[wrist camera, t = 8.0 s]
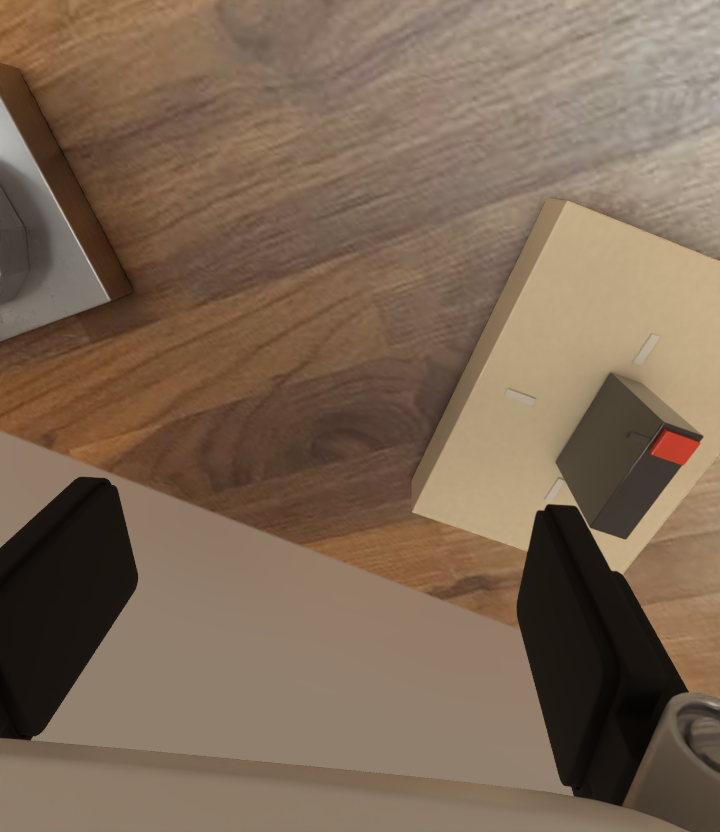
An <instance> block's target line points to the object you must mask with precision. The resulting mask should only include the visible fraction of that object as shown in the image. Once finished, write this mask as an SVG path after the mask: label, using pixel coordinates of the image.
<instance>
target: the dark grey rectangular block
mask: <svg viewBox="0 0 720 832" xmlns="http://www.w3.org/2000/svg"><path fill="white" fill-rule="evenodd" d="M703 437H704V436H703V435H702V434H701V433H699V432H698V431H697V430H696V429H695V428H694V427H692V426H691V425H690V424H689V423H688V422H687V421H685V420H684V419H683V418H682V417H681V416H680V415H679V414H677V413H676V412H675V411H674V410H673V409H672V408H670V407H669V406H668V405H667V404H666V403H665V402H663V401H662V400H661V399H660V398H659V397H658V396H656V395H655V394H654V393H653V392H652V391H651V390H649V389H648V388H647V387H646V386H645V385H644V384H642V383H640V382H637V381H634V380H631V379H629V378H626V377H623V376H620V375H617V374H615V373H612V372H610V374H609V375H608V377H607V378H606V380H605V382H604V383H603V385H602V387H601V388H600V390H599V392H598V393H597V395H596V396H595V398H594V400H593V401H592V403H591V405H590V406H589V408H588V410H587V411H586V413H585V414H584V416H583V418H582V419H581V421H580V423H579V424H578V426H577V428H576V429H575V431H574V432H573V434H572V436H571V437H570V439H569V441H568V442H567V444H566V446H565V447H564V449H563V450H562V452H561V454H560V455H559V457H558V459H557V460H556V462H555V463H556V465H557V467H558V469H559V471H560V473H561V474H562V476H563V478H564V480H565V482H566V484H567V486H568V488H569V490H570V491H571V493H572V495H573V497H574V499H575V501H576V503H577V505H578V507H579V508H580V510H581V512H582V514H583V516H584V518H585V520H586V522H587V524H588V525H589V527H590V528H591V529H594V530H597V531H600V532H603V533H606V534H609V535H612V536H615V537H618V538H621V539H624V540H626V539H627V538H628V537H629V535H630V534H631V533H632V531H633V530H634V529H635V527H636V526H637V525H638V523H639V522H640V521H641V520H642V518H643V517H644V516H645V514H646V513H647V512H648V510H649V509H650V508H651V506H652V505H653V504H654V502H655V501H656V500H657V498H658V497H659V496H660V494H661V493H662V492H663V490H664V489H665V488H666V486H667V485H668V484H669V482H670V481H671V480H672V478H673V477H674V476H675V474H676V473H677V472H678V471H679V469H680V468H681V467H682V465H683V466H684V465H685V464H686V462H687V461H688V460H689V458H690V457H691V456H692V454H693V453H694V452H695V450H696V449H697V448H698V447H699V445H700V444H701V443H700V441H701V440H702V439H703Z"/></svg>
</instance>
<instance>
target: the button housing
mask: <svg viewBox="0 0 720 832" xmlns="http://www.w3.org/2000/svg"><path fill="white" fill-rule="evenodd" d="M132 292H133V289H132V287H131V285H130V283H129V281H128V279H127V277H126V275H125V273H124V271H123V270H122V268H121V266H120V264H119V262H118V260H117V258H116V256H115V254H114V252H113V250H112V248H111V246H110V244H109V243H108V241H107V239H106V237H105V235H104V233H103V231H102V229H101V227H100V225H99V223H98V221H97V219H96V217H95V216H94V214H93V212H92V210H91V208H90V206H89V204H88V202H87V200H86V198H85V196H84V194H83V192H82V191H81V189H80V187H79V185H78V183H77V181H76V179H75V177H74V175H73V173H72V171H71V169H70V167H69V165H68V164H67V162H66V160H65V158H64V156H63V154H62V152H61V150H60V148H59V146H58V144H57V142H56V140H55V138H54V137H53V135H52V133H51V131H50V129H49V127H48V125H47V123H46V121H45V119H44V117H43V115H42V113H41V111H40V110H39V108H38V106H37V104H36V102H35V100H34V98H33V96H32V94H31V92H30V90H29V88H28V86H27V85H26V83H25V81H24V79H23V77H22V75H21V73H20V71H19V69H18V68H15V67H12V66H8V65H5V64H1V63H0V342H1V341H3V340H6V339H9V338H12V337H14V336H17V335H20V334H23V333H25V332H28V331H31V330H34V329H36V328H39V327H42V326H45V325H47V324H50V323H53V322H56V321H58V320H61V319H64V318H67V317H69V316H72V315H75V314H78V313H80V312H83V311H86V310H89V309H91V308H94V307H97V306H100V305H102V304H105V303H108V302H111V301H113V300H116V299H118V298H120V297H123V296H125V295H128V294H130V293H132Z"/></svg>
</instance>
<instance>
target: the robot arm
mask: <svg viewBox="0 0 720 832" xmlns="http://www.w3.org/2000/svg"><path fill="white" fill-rule="evenodd" d="M137 583H138V572H137V568H136V565H135V560H134V556H133V552H132V548H131V543H130V539H129V535H128V531H127V527H126V522H125V518H124V514H123V510H122V506H121V502H120V498H119V493H118V490H117V488H116V486H114V485H111V483H110V481H109V480H108V479H105V478H93V477H79V478H77V479H75V480H74V481H73V482H72V483H71V484H70V485H69V486H68V487H66V488H65V489H64V490H63V491H62V492H61V493H60V494H59V495H58V496H57V497H55V499H53V500H52V501H51V502H50V503H49V504H48V505H47V506H46V507H45V508H43V509H42V510H41V511H40V512H39V513H38V514H37V515H36V516H35V517H34V518H33V519H32V520H30V521H29V522H28V523H27V524H26V525H25V526H24V527H23V528H22V529H21V530H19V531H18V532H17V533H16V534H15V535H14V536H13V537H12V538H11V539H10V540H8V541H7V542H6V543H5V544H4V545H3V546H2V547H1V548H0V832H720V699H718V698H716V697H713V696H709V695H705V694H701V693H689V691H688V690H687V688H686V686H685V684H684V683H683V681H682V679H681V677H680V675H679V674H678V672H677V670H676V668H675V666H674V665H673V663H672V661H671V659H670V658H669V656H668V654H667V652H666V650H665V649H664V647H663V645H662V643H661V641H660V640H659V638H658V636H657V634H656V633H655V631H654V629H653V627H652V625H651V624H650V622H649V620H648V618H647V616H646V615H645V613H644V611H643V609H642V608H641V606H640V604H639V602H638V600H637V599H636V597H635V595H634V593H633V591H632V590H631V588H630V586H629V584H628V583H627V581H626V579H625V578H624V577H623V575H622V574H621V573H619V572H618V571H611V569H610V567H609V565H608V563H607V561H606V559H605V558H604V556H603V554H602V552H601V550H600V548H599V546H598V545H597V543H596V541H595V539H594V537H593V535H592V533H591V531H590V530H589V528H588V526H587V524H586V522H585V520H584V518H583V517H582V515H581V513H580V511H579V509H578V508H577V507H576V506H574V505H557V504H548V505H546V507H545V510H544V511H543V510H538V511H537V512H536V515H535V519H534V524H533V529H532V534H531V538H530V543H529V548H528V552H527V557H526V562H525V567H524V571H523V576H522V581H521V585H520V590H519V595H518V600H517V618H518V622H519V626H520V630H521V633H522V637H523V641H524V645H525V648H526V652H527V656H528V660H529V663H530V668H531V671H532V675H533V679H534V683H535V687H536V690H537V694H538V698H539V702H540V705H541V709H542V713H543V717H544V721H545V725H546V728H547V732H548V736H549V740H550V744H551V747H552V751H553V755H554V759H555V763H556V766H557V770H558V774H559V777H560V780H561V782H562V784H563V785H564V786H570V787H572V791H573V795H574V796H568V795H562V794H556V793H550V792H544V791H536V790H527V789H519V788H511V787H502V786H493V785H486V784H477V783H469V782H459V781H451V780H442V779H432V778H422V777H412V776H402V775H392V774H382V773H372V772H362V771H352V770H342V769H332V768H322V767H312V766H302V765H291V764H281V763H270V762H260V761H249V760H239V759H229V758H218V757H206V756H197V755H186V754H175V753H164V752H154V751H143V750H131V749H120V748H109V747H98V746H86V745H74V744H64V743H52V742H42V741H41V742H40V741H30V740H31V739H32V737H33V736H37V735H39V734H40V733H41V732H42V731H43V730H44V729H45V727H46V726H47V725H48V723H49V722H50V720H51V718H52V717H53V715H54V714H55V712H56V711H57V709H58V707H59V706H60V705H61V703H62V702H63V700H64V698H65V697H66V695H67V694H68V692H69V691H70V689H71V688H72V686H73V685H74V683H75V682H76V680H77V679H78V677H79V675H80V674H81V672H82V671H83V669H84V668H85V666H86V665H87V663H88V662H89V660H90V659H91V657H92V656H93V654H94V653H95V651H96V649H97V648H98V646H99V645H100V643H101V642H102V640H103V639H104V637H105V636H106V634H107V633H108V631H109V630H110V628H111V626H112V625H113V623H114V622H115V620H116V619H117V617H118V616H119V614H120V613H121V611H122V609H123V608H124V607H125V605H126V604H127V602H128V600H129V599H130V597H131V596H132V594H133V593H134V591H135V589H136V586H137Z"/></svg>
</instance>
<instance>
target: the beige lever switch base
mask: <svg viewBox="0 0 720 832" xmlns="http://www.w3.org/2000/svg"><path fill="white" fill-rule="evenodd" d="M610 372H612V373H615V374H617V375H620V376H623V377H626V378H629V379H631V380H634V381H637V382H640V383H642V384H644V385H645V386H646V387H647V388H648V389H649V390H651V391H652V392H653V393H654V394H655V395H656V396H658V397H659V398H660V399H661V400H662V401H663V402H665V403H666V404H667V405H668V406H669V407H670V408H672V409H673V410H674V411H675V412H676V413H677V414H679V415H680V416H681V417H682V418H683V419H684V420H685V421H687V422H688V423H689V424H690V425H691V426H692V427H694V428H695V429H696V430H697V431H698V432H699V433H701V434H702V435H703V436H704V437H703V439H702V440H701V441H700V443H701V444H700V445H699V447H698V448H697V449H696V450H695V452H694V453H693V454H692V456H691V457H690V458H689V460H688V461H687V462H686V464H685V465H684V466H683V465H682V467H681V468H680V469H679V471H678V472H677V473H676V474H675V476H674V477H673V478H672V480H671V481H670V482H669V484H668V485H667V486H666V488H665V489H664V490H663V492H662V493H661V494H660V496H659V497H658V498H657V500H656V501H655V502H654V504H653V505H652V506H651V508H650V509H649V510H648V512H647V513H646V514H645V516H644V517H643V518H642V520H641V521H640V522H639V523H638V525H637V526H636V527H635V529H634V530H633V531H632V533H631V534H630V535H629V537H628V538H627V539H626V540H624V539H621V538H618V537H615V536H612V535H609V534H606V533H603V532H600V531H597V530H594V529H591V528H590V527H589V525H588V524H587V522H586V520H585V518H584V516H583V514H582V512H581V510H580V508H579V507H578V505H577V503H576V501H575V499H574V497H573V495H572V493H571V491H570V490H569V488H568V486H567V484H566V482H565V480H564V478H563V476H562V474H561V473H560V471H559V469H558V467H557V465H556V463H555V462H556V460H557V459H558V457H559V455H560V454H561V452H562V450H563V449H564V447H565V446H566V444H567V442H568V441H569V439H570V437H571V436H572V434H573V432H574V431H575V429H576V428H577V426H578V424H579V423H580V421H581V419H582V418H583V416H584V414H585V413H586V411H587V410H588V408H589V406H590V405H591V403H592V401H593V400H594V398H595V396H596V395H597V393H598V392H599V390H600V388H601V387H602V385H603V383H604V382H605V380H606V378H607V377H608V375H609V374H610ZM719 454H720V261H719V260H716V259H714V258H711V257H709V256H706V255H704V254H701V253H699V252H696V251H694V250H691V249H689V248H686V247H684V246H681V245H679V244H676V243H674V242H671V241H669V240H666V239H664V238H661V237H659V236H656V235H654V234H651V233H649V232H646V231H644V230H641V229H639V228H636V227H634V226H631V225H629V224H626V223H624V222H621V221H619V220H616V219H614V218H611V217H609V216H606V215H604V214H601V213H599V212H596V211H594V210H591V209H589V208H586V207H584V206H581V205H579V204H576V203H574V202H571V201H569V200H561V199H553V198H547V199H546V202H545V204H544V206H543V208H542V210H541V212H540V214H539V216H538V218H537V220H536V222H535V224H534V226H533V229H532V231H531V233H530V235H529V237H528V239H527V241H526V243H525V245H524V247H523V249H522V251H521V254H520V256H519V258H518V260H517V262H516V264H515V266H514V268H513V270H512V272H511V274H510V276H509V278H508V281H507V283H506V285H505V287H504V289H503V291H502V293H501V295H500V297H499V299H498V301H497V303H496V306H495V308H494V310H493V312H492V314H491V316H490V318H489V320H488V322H487V324H486V326H485V328H484V331H483V333H482V335H481V337H480V339H479V341H478V343H477V345H476V347H475V349H474V351H473V353H472V355H471V358H470V360H469V362H468V364H467V366H466V368H465V370H464V372H463V374H462V376H461V378H460V380H459V383H458V385H457V387H456V389H455V391H454V393H453V395H452V397H451V399H450V401H449V403H448V405H447V407H446V410H445V412H444V414H443V416H442V418H441V420H440V422H439V424H438V426H437V428H436V430H435V432H434V435H433V437H432V439H431V441H430V443H429V445H428V447H427V449H426V451H425V453H424V455H423V457H422V460H421V462H420V464H419V466H418V468H417V470H416V472H415V474H414V476H413V478H412V480H411V495H412V512H413V513H415V514H418V515H421V516H424V517H427V518H430V519H433V520H436V521H439V522H442V523H445V524H448V525H451V526H454V527H457V528H460V529H463V530H466V531H468V532H471V533H474V534H477V535H480V536H483V537H486V538H489V539H492V540H495V541H498V542H501V543H504V544H507V545H510V546H513V547H516V548H519V549H521V550H524V551H527V552H528V548H529V543H530V538H531V534H532V529H533V524H534V519H535V515H536V512H537V511H538V510H543V511H544V510H545V507H546V505H548V504H557V505H574V506H576V507H577V508H578V509H579V511H580V513H581V515H582V517H583V518H584V520H585V522H586V524H587V526H588V528H589V530H590V531H591V533H592V535H593V537H594V539H595V541H596V543H597V545H598V546H599V548H600V550H601V552H602V554H603V556H604V558H605V559H606V561H607V563H608V565H609V567H610V569H611V571H618V572H619V573H621V574H623V573H624V572H625V571H626V569H627V568H628V567H629V566H630V564H631V563H632V562H633V561H634V560H635V558H636V557H637V556H638V555H639V553H640V552H641V551H642V550H643V548H644V547H645V546H646V545H647V543H648V542H649V541H650V540H651V538H652V537H653V536H654V535H655V534H656V532H657V531H658V530H659V529H660V527H661V526H662V525H663V524H664V522H665V521H666V520H667V519H668V517H669V516H670V515H671V514H672V513H673V511H674V510H675V509H676V508H677V506H678V505H679V504H680V503H681V501H682V500H683V499H684V498H685V496H686V495H687V494H688V493H689V492H690V490H691V489H692V488H693V487H694V485H695V484H696V483H697V482H698V480H699V479H700V478H701V477H702V475H703V474H704V473H705V472H706V471H707V469H708V468H709V467H710V466H711V464H712V463H713V462H714V461H715V459H716V458H717V457H718V456H719Z"/></svg>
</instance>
